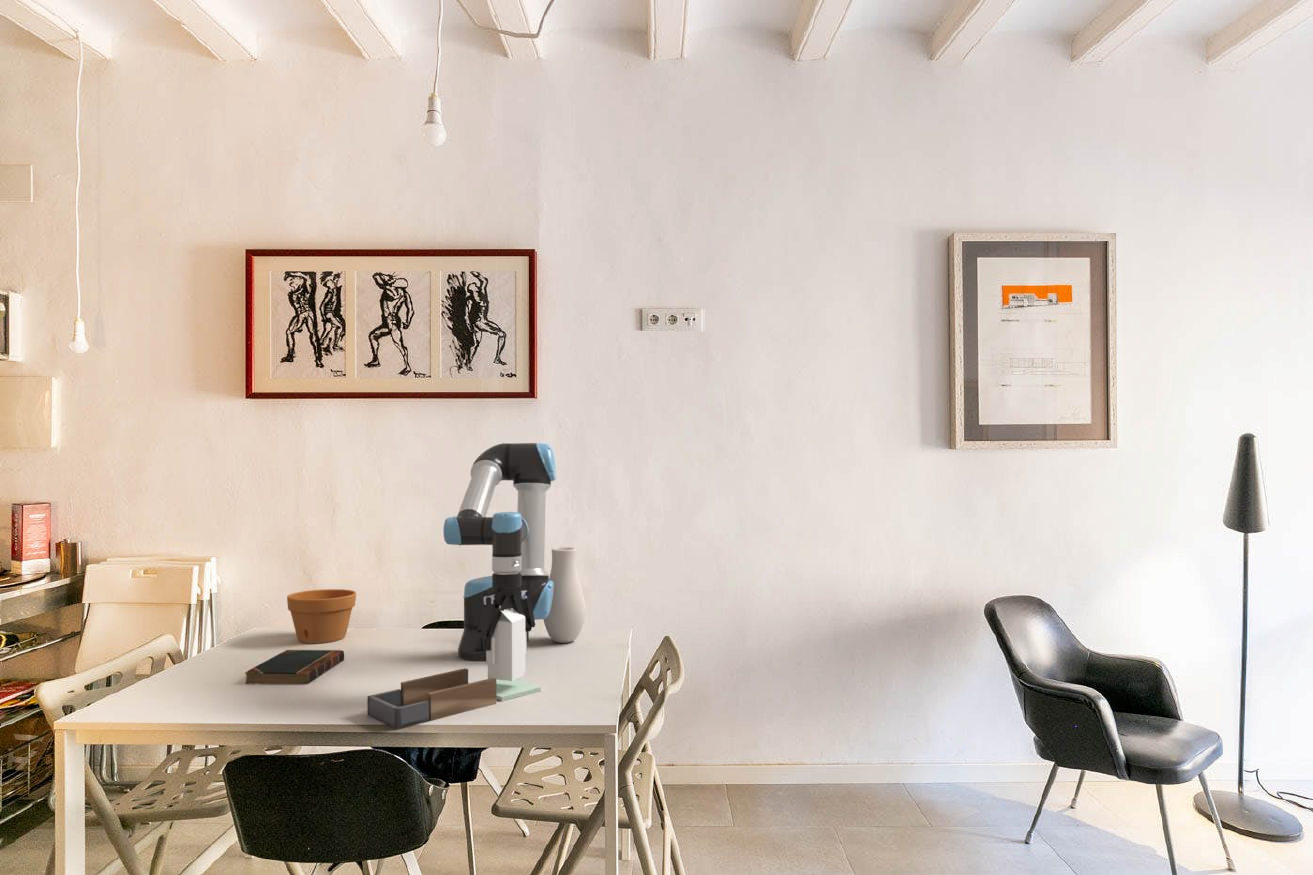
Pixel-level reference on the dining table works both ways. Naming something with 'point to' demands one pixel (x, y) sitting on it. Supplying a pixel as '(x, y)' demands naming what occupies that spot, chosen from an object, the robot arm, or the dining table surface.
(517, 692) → the pad
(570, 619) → the vase
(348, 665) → the dining table surface
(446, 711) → the channel
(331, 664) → the book
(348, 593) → the flower pot
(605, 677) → the dining table surface
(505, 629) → the milk carton
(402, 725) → the bin
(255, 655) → the dining table surface
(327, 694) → the dining table surface
